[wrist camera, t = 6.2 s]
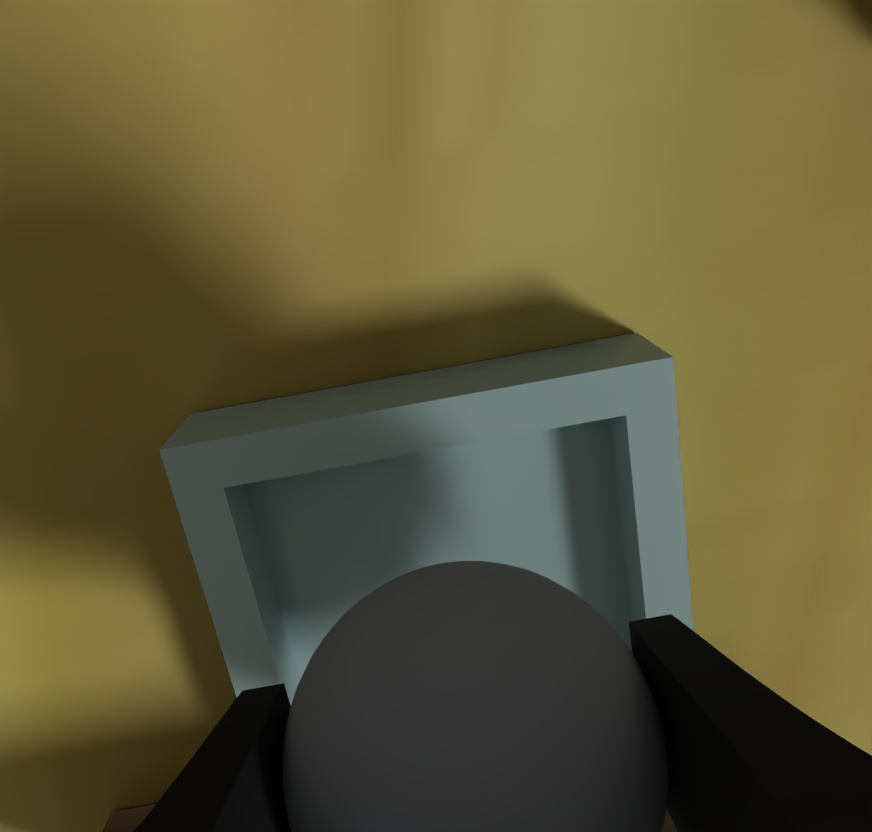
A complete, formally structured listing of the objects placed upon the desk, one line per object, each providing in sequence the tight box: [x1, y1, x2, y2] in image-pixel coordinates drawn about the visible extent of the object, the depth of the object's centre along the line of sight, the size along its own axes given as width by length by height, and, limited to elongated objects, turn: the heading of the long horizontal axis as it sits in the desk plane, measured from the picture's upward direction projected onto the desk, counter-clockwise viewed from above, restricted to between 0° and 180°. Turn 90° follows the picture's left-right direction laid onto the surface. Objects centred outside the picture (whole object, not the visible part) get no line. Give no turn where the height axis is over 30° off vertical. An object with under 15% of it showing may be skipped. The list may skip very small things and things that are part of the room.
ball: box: [282, 561, 668, 832], centre depth 10 cm, size 5×5×5 cm
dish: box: [159, 333, 693, 705], centre depth 14 cm, size 8×8×2 cm
